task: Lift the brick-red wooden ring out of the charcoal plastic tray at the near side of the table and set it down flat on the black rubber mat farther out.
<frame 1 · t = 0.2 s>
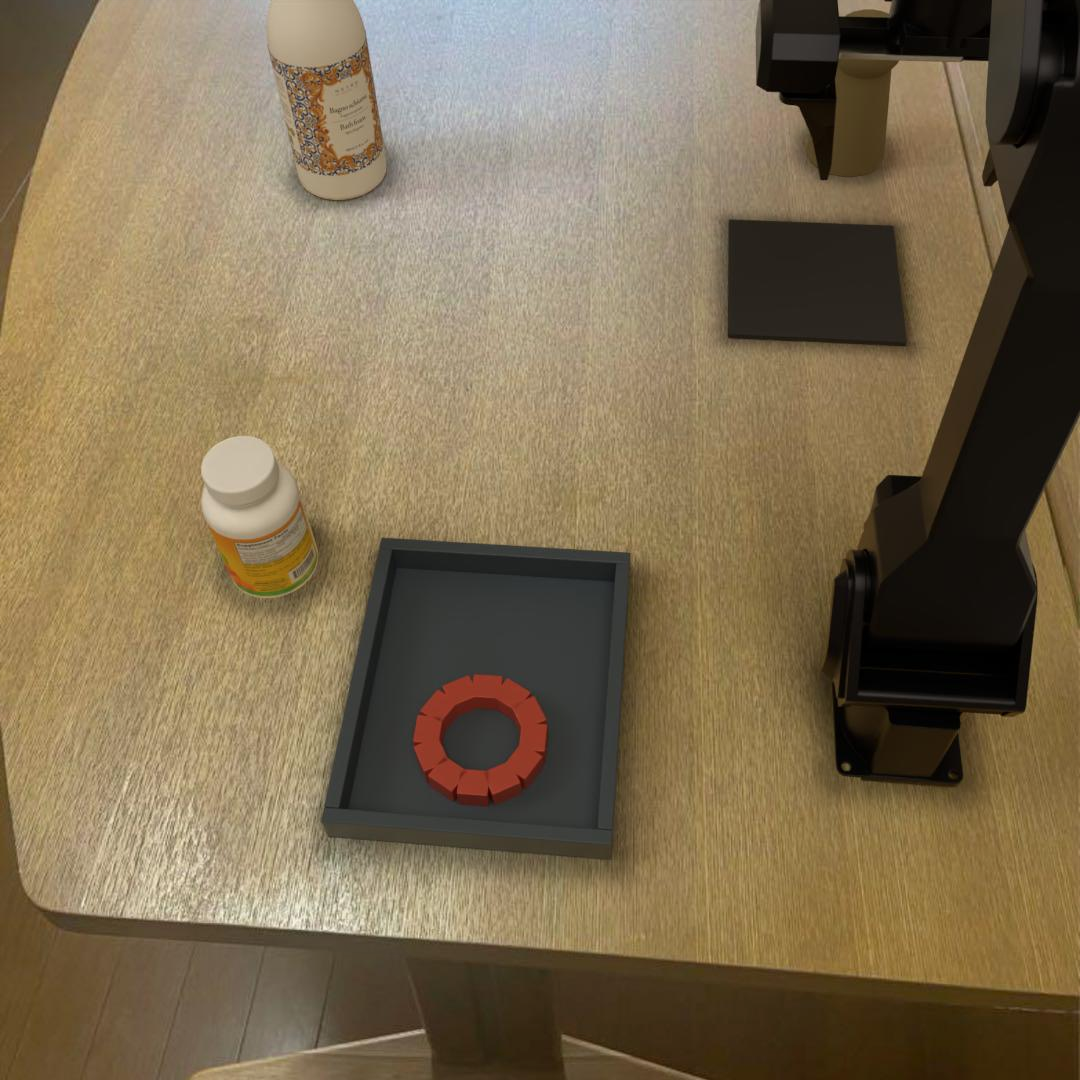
hand: (904, 178, 69), 14 cm above the table, tool pointing down, fingers open, 9 cm apart
bath foam: (344, 177, 94), on the table
ring: (482, 744, 64), resting on tray
supplement bottle: (276, 567, 72), on the table
cork: (844, 154, 93), on the table
mat: (813, 281, 85), on the table
tray: (489, 699, 66), on the table
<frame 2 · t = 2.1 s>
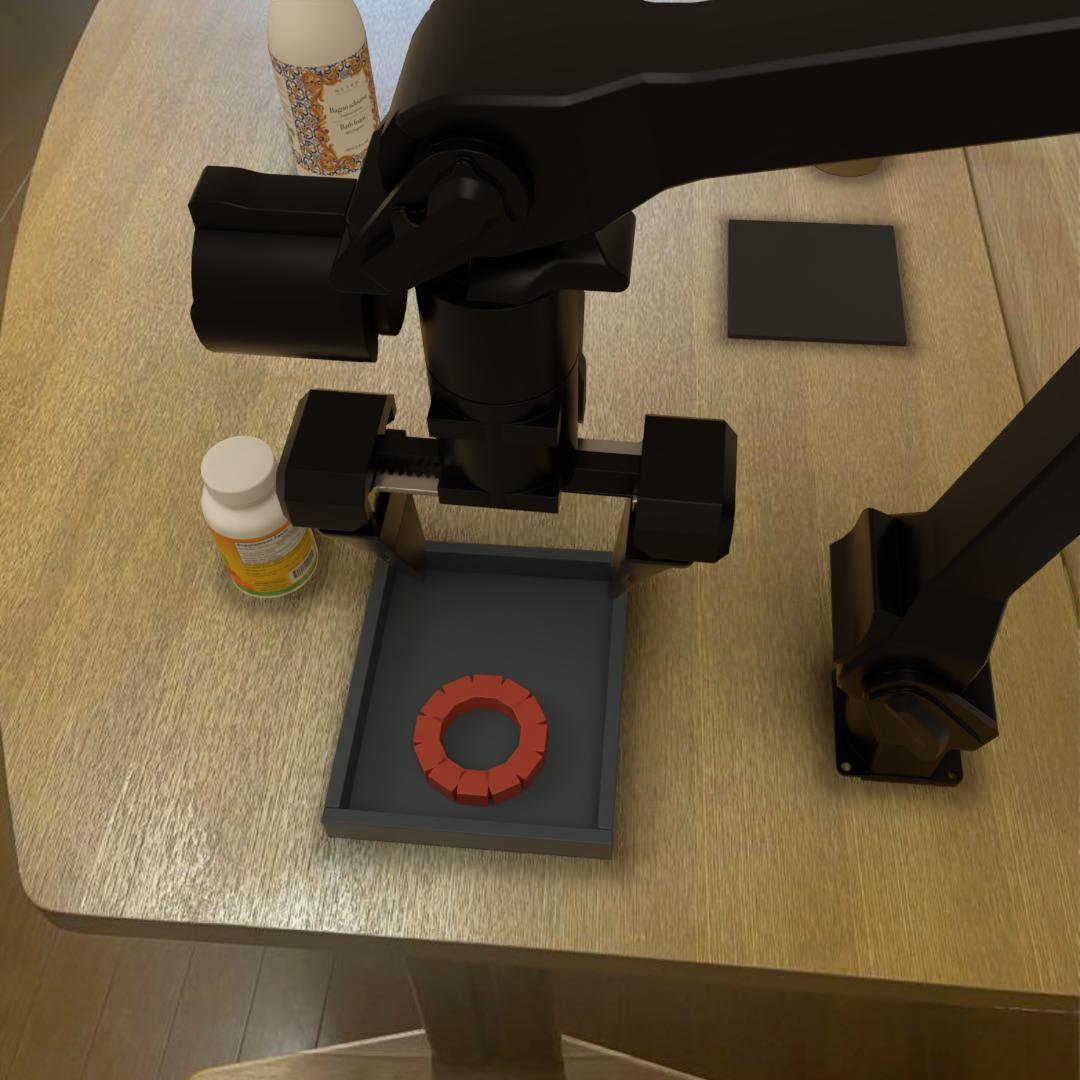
hand: (516, 581, 57), 12 cm above the table, tool pointing down, fingers open, 9 cm apart
nothing on the table moved.
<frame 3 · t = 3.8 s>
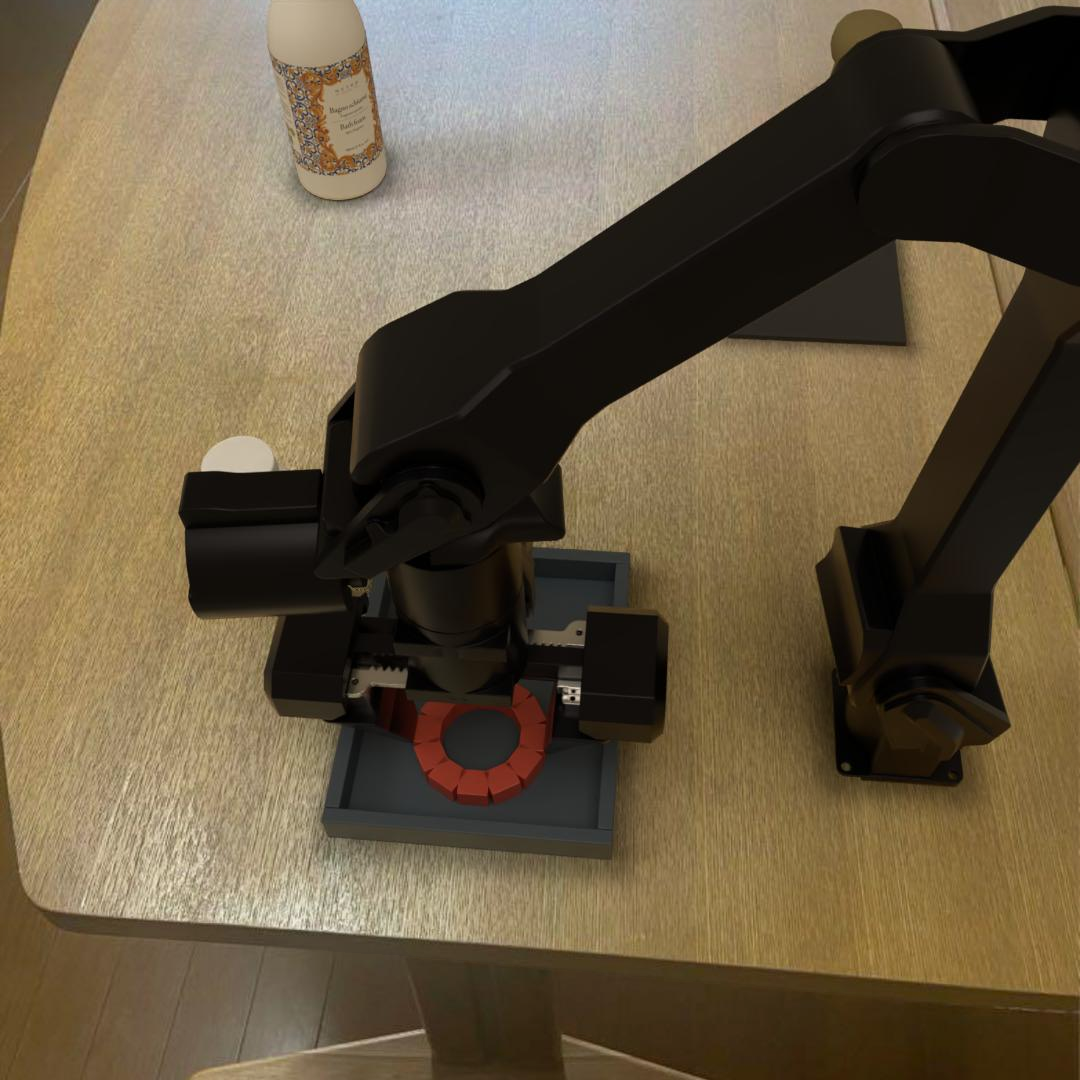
hand: (482, 739, 63), 1 cm above the table, tool pointing down, fingers closed on ring, 7 cm apart
ring: (482, 744, 64), point 1 cm above the table, touching gripper, tray
everything else where it was.
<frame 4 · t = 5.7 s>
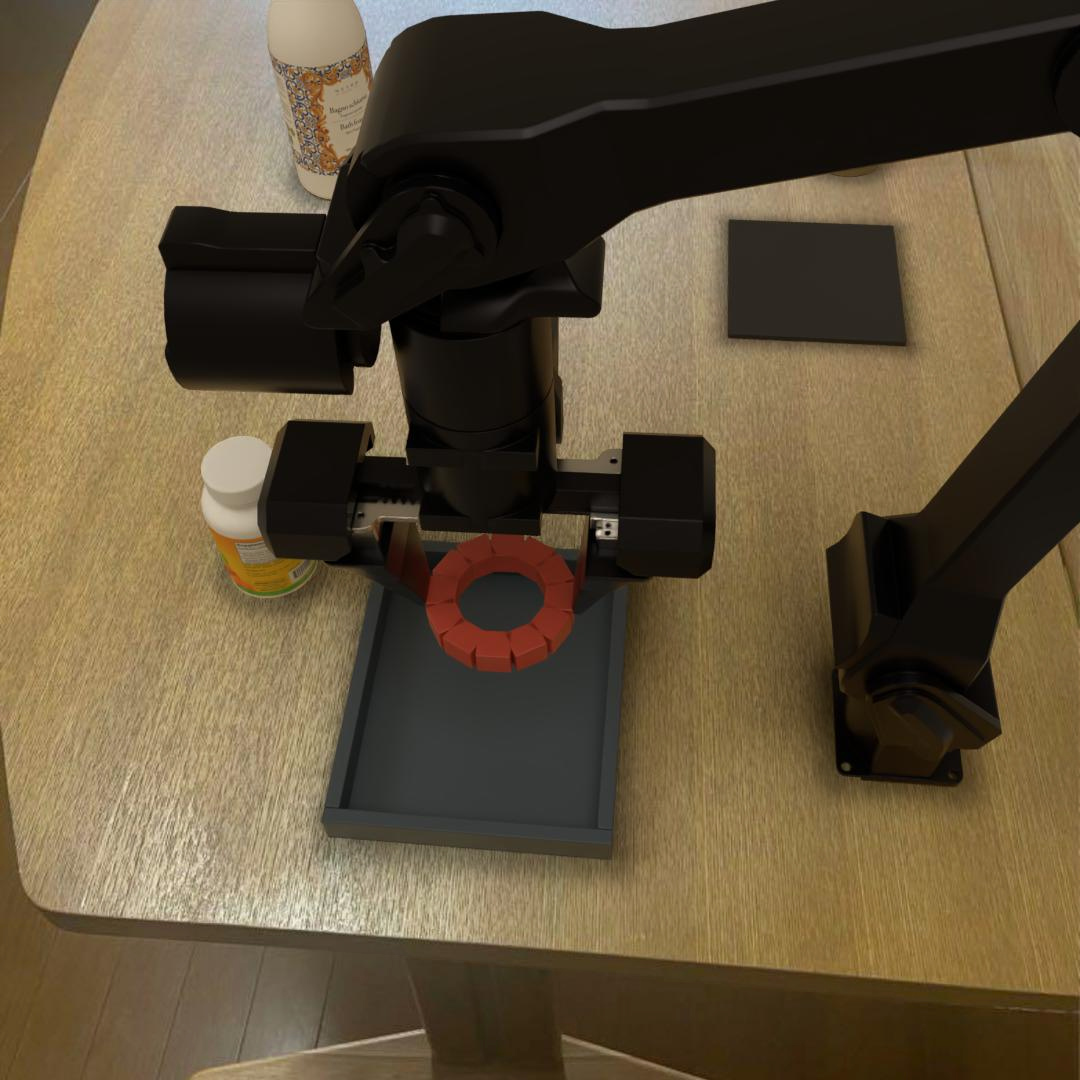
hand: (502, 601, 57), 11 cm above the table, tool pointing down, fingers closed on ring, 7 cm apart
ring: (502, 608, 57), point 10 cm above the table, touching gripper
everything else where it was.
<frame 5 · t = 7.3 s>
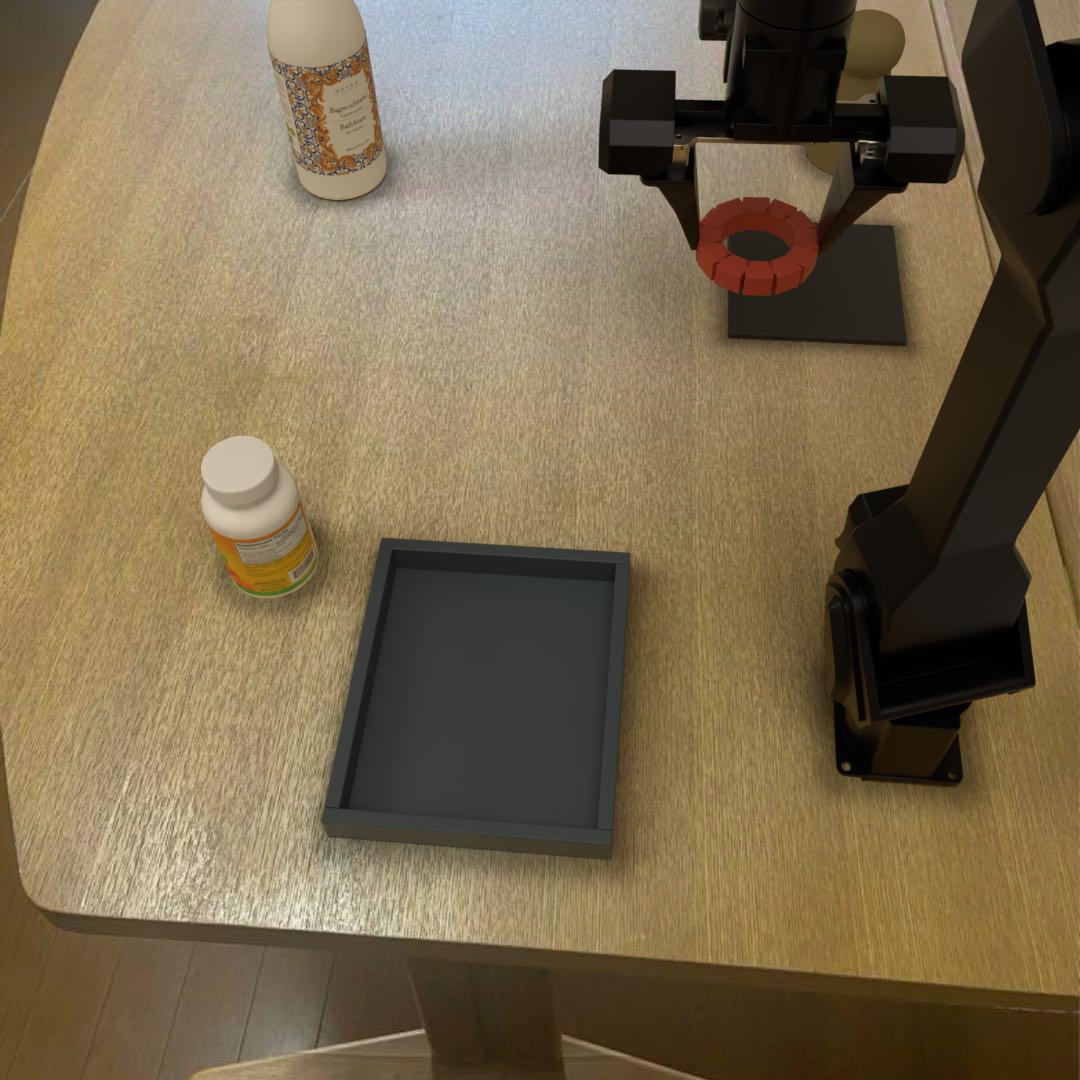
hand: (756, 247, 70), 11 cm above the table, tool pointing down, fingers closed on ring, 7 cm apart
ring: (755, 254, 71), point 11 cm above the table, touching gripper
everything else where it was.
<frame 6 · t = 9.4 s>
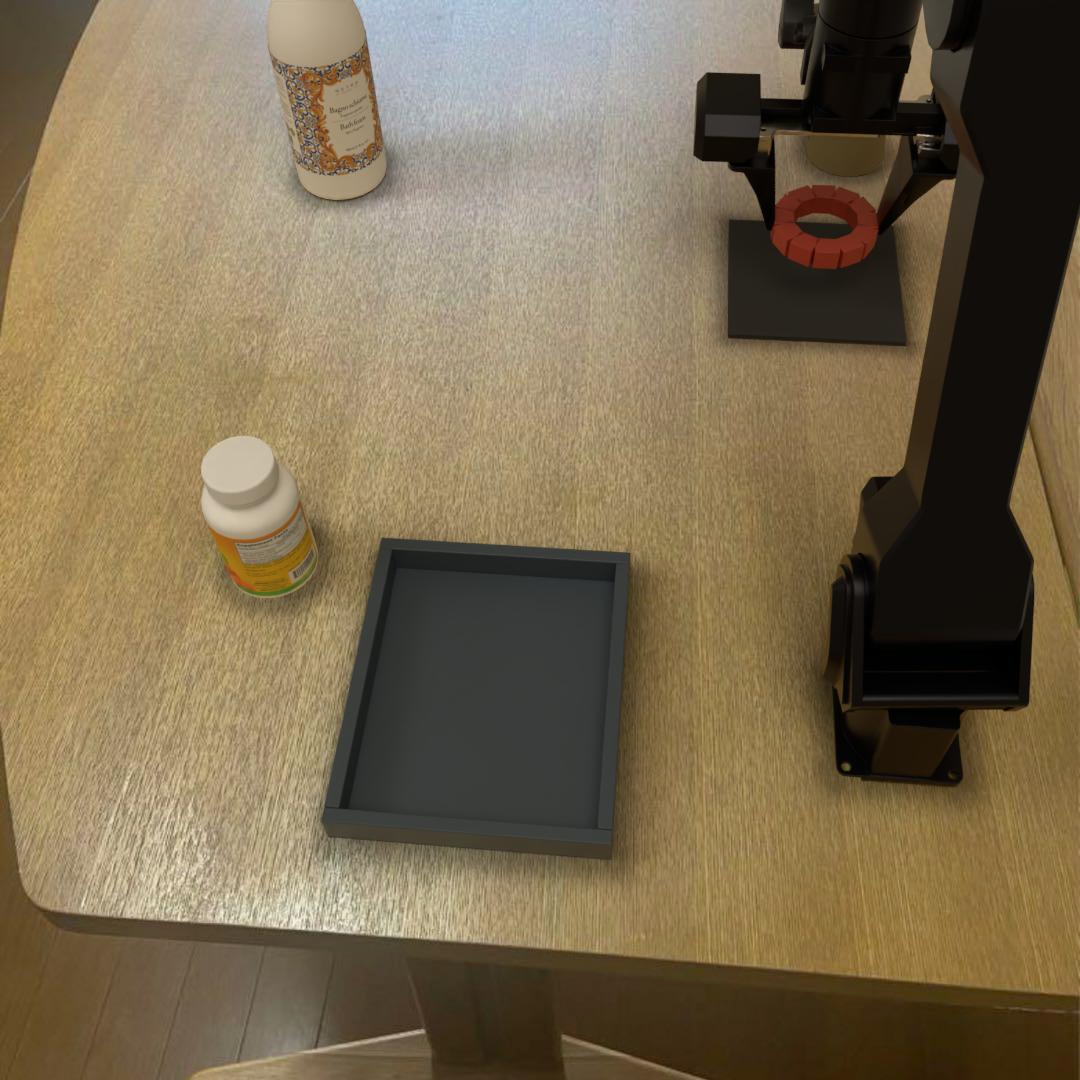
hand: (823, 228, 81), 5 cm above the table, tool pointing down, fingers closed on ring, 7 cm apart
ring: (822, 234, 81), point 4 cm above the table, touching gripper
everything else where it was.
when the fingers open (1 cm above the table, at t = 11.0 s): ring stays where it is, resting on mat.
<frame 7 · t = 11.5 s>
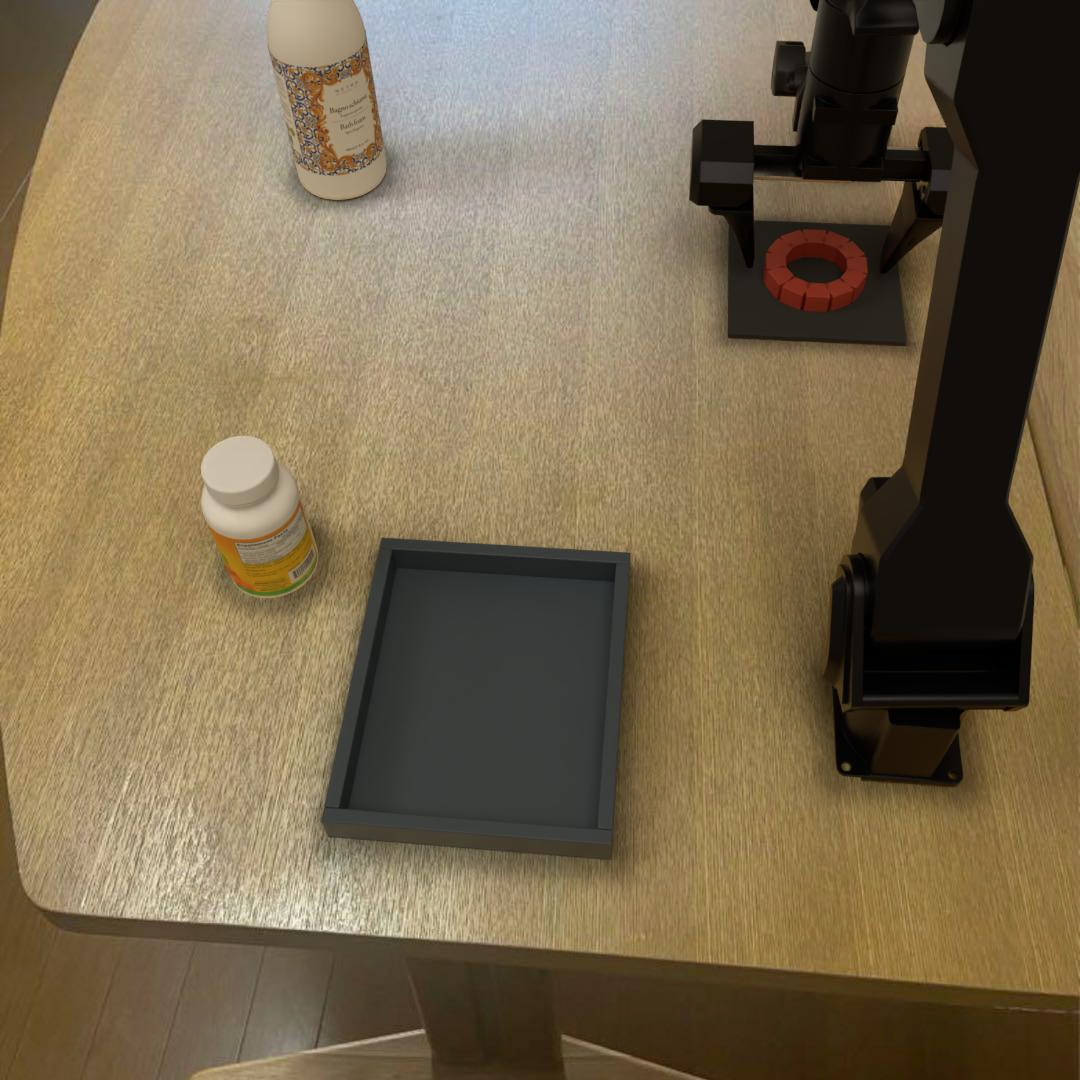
hand: (815, 266, 84), 1 cm above the table, tool pointing down, fingers open, 9 cm apart
ring: (813, 277, 84), resting on mat
everything else where it was.
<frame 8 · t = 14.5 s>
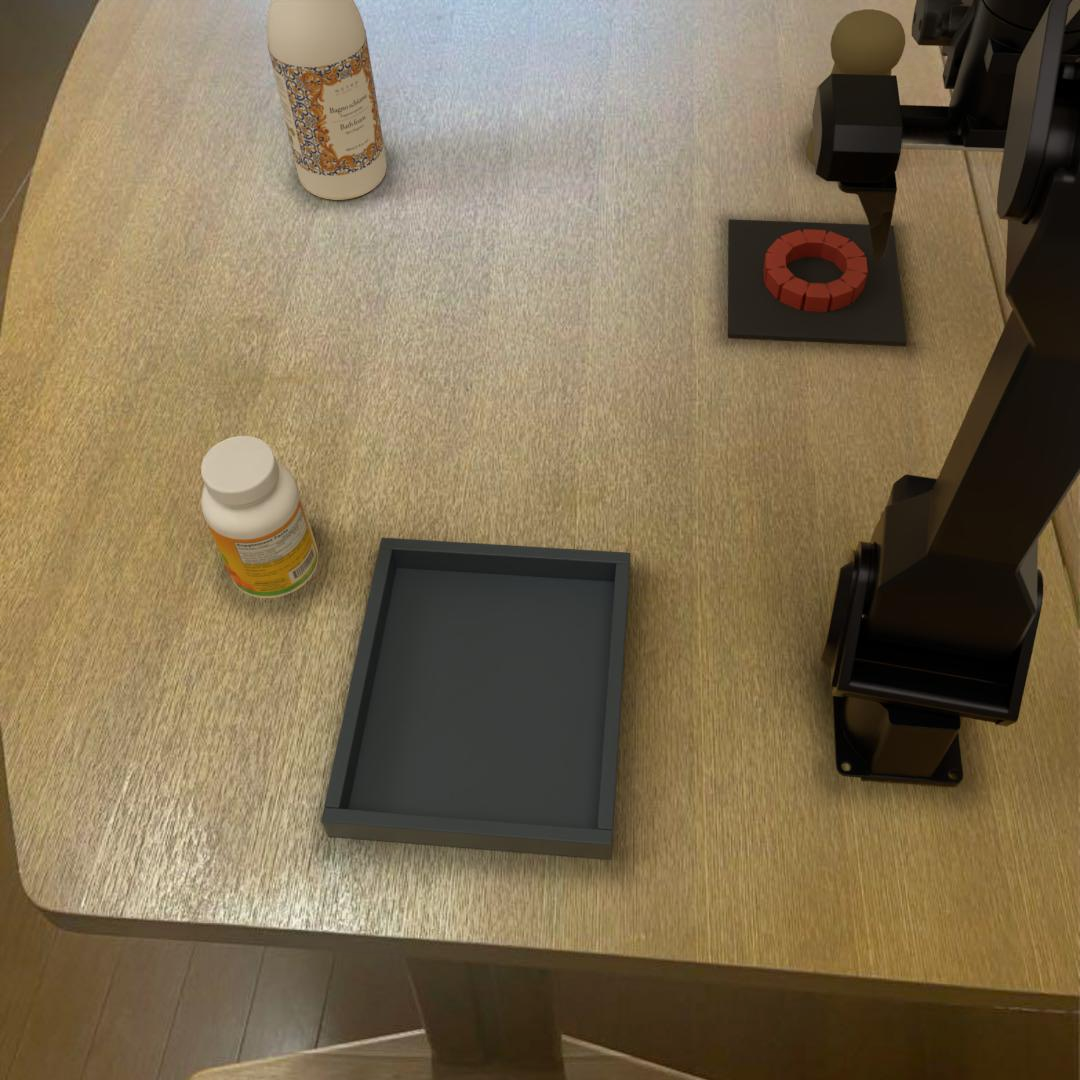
hand: (958, 258, 68), 12 cm above the table, tool pointing down, fingers open, 9 cm apart
nothing on the table moved.
at the end: ring inside the target area on the mat (0.0 cm from its centre), point 0.4 cm above the mat's base; ring touching mat; ring tilted 0° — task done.
